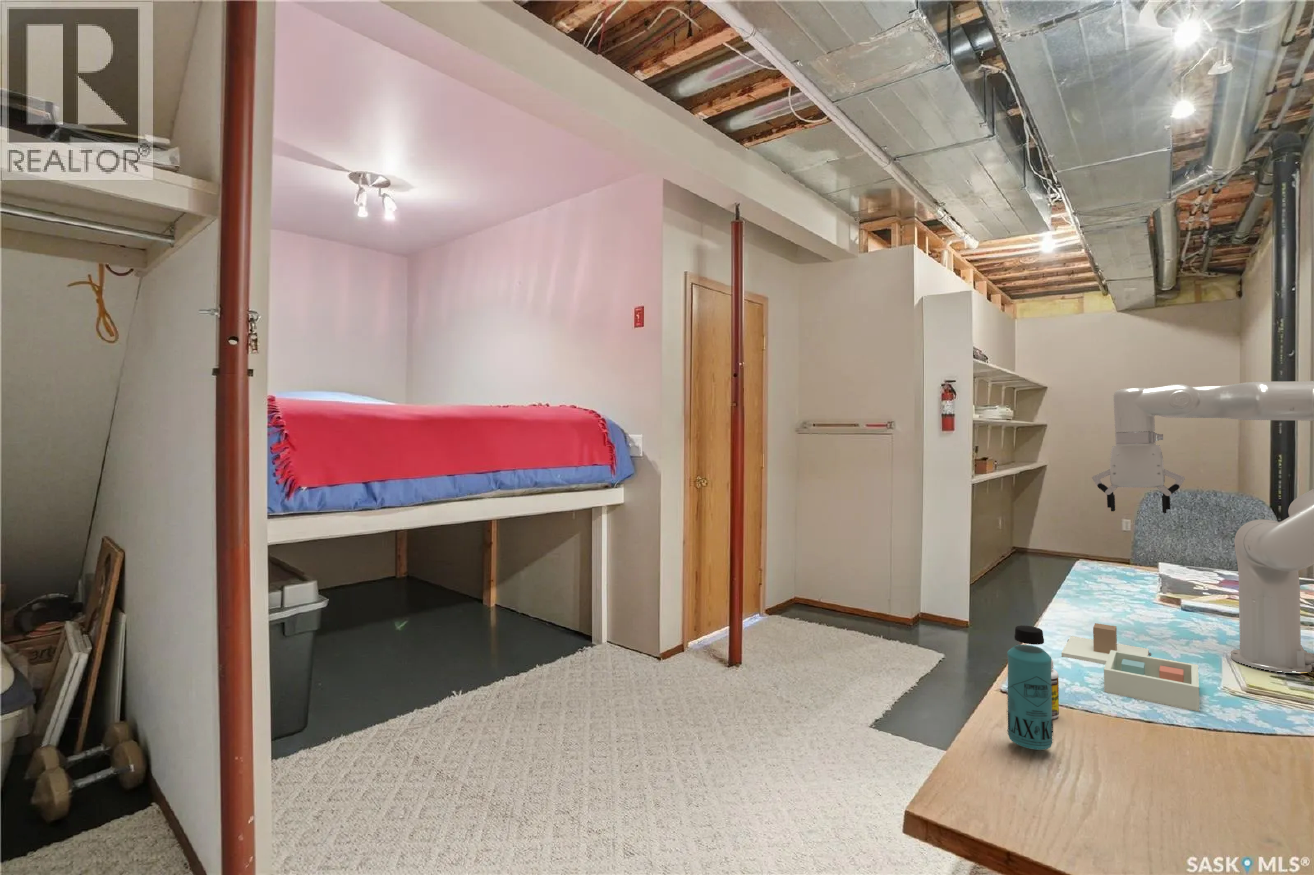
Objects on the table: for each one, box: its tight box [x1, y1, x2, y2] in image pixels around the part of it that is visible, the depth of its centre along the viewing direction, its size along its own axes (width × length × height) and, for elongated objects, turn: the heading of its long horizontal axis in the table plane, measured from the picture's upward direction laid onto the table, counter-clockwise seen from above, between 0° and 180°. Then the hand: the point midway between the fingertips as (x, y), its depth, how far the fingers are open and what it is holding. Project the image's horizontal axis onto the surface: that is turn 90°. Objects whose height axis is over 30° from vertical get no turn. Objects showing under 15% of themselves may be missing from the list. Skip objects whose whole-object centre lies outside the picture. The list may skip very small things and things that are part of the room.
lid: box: [1061, 623, 1150, 666], centre depth 140 cm, size 15×15×6 cm
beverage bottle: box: [1006, 625, 1054, 751], centre depth 100 cm, size 6×7×20 cm
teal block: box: [1121, 659, 1145, 675], centre depth 125 cm, size 4×4×4 cm
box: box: [1103, 650, 1200, 713], centre depth 121 cm, size 14×14×5 cm
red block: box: [1159, 666, 1184, 683], centre depth 121 cm, size 4×4×4 cm
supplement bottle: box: [1051, 659, 1060, 720], centre depth 113 cm, size 6×6×10 cm
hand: (1138, 511), depth 145 cm, fingers open, 9 cm apart
